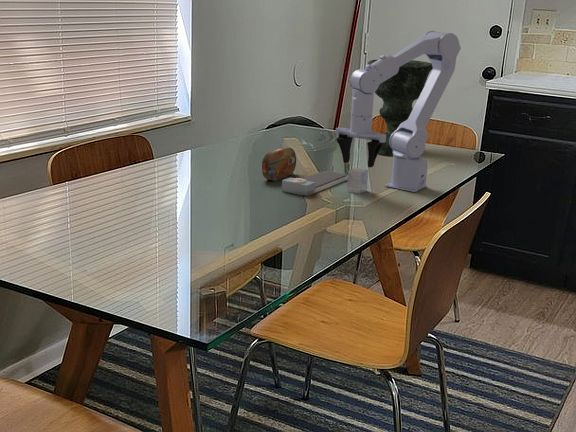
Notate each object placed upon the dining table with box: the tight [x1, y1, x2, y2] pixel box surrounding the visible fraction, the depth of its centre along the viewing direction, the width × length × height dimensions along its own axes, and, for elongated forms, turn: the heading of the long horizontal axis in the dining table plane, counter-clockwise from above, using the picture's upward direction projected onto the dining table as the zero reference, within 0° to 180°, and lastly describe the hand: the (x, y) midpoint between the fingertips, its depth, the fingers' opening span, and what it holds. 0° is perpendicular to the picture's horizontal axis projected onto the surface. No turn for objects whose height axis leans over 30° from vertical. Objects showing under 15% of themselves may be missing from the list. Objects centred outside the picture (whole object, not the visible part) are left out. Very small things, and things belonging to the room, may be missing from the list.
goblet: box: [367, 59, 433, 157], centre depth 253 cm, size 22×23×30 cm
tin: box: [261, 147, 297, 182], centre depth 217 cm, size 15×3×8 cm, turn 147°
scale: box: [281, 170, 348, 197], centre depth 211 cm, size 8×23×4 cm, turn 146°
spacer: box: [346, 167, 369, 195], centre depth 206 cm, size 4×4×6 cm
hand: (358, 164), depth 205 cm, fingers open, 7 cm apart
